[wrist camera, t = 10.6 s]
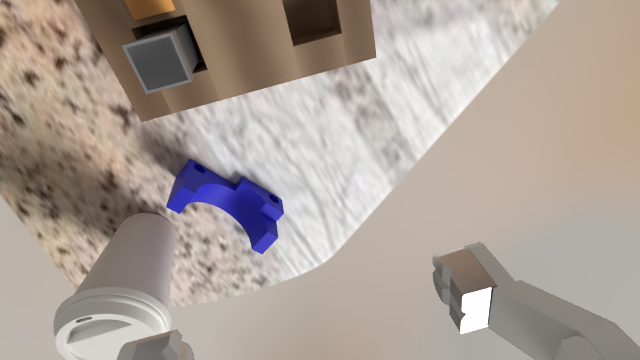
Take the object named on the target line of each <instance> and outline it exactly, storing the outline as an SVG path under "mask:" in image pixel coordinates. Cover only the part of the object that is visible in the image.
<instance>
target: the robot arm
mask: <svg viewBox="0 0 640 360" xmlns="http://www.w3.org/2000/svg"><path fill="white" fill-rule="evenodd" d="M433 265H434V267H435V268H436V269H435V271H434V272H433V281H434V285H435V289H436V291H437V293H438V295H439V297H440V299H441V301H442V302H443V303H445V304H447V305H448V306H450V316H451V318H452V319H453V321H454V323H455V324H456V326H457V328H458V329H459V331H460V333H464V332H468V331H472V330H476V329H480V328H483V327H486V326H488V328H489V329H491V330H492V331H494V332H495V333H496V334H498V335H499V336H501V337H502V338H504V339H505V340H507V341H508V342H510V343H511V344H512V345H514V346H515V347H517V348H518V349H520V350H521V351H523V352H524V353H526V354H527V355H529V356H530V357H531V358H533V359H534V360H640V347H639V346H638V345H637V344H636V343H635V342H634V341H633V340H632V339H631V338H630V337H629V336H627V334H626V333H624V331H623V330H622V329H620V328H619V327H618V326H617V325H616V324H615V323H614V322H612V321H609V320H607V319H605V318H603V317H601V316H599V315H596V314H594V313H592V312H590V311H588V310H585V309H583V308H581V307H579V306H577V305H574V304H572V303H570V302H568V301H566V300H563V299H561V298H559V297H557V296H555V295H552V294H550V293H548V292H546V291H543V290H541V289H539V288H537V287H535V286H532V285H530V284H528V283H526V282H524V281H521V280H519V281H515V280H514V279H513V278H512V276H511V275H510V274H509V273H508V272H507V271H506V269H505V268H504V267H503V266H502V265H501V264H500V263H499V261H498V260H497V259H496V258H495V257H494V256H493V254H492V253H491V252H490V251H489V250H488V249H487V248H486V246H485V245H484V244H483V243H481V242H478V243H474V244H471V245H468V246H464V247H460V248H456V249H453V250H450V251H446V252H443V253H439V254H436V255H434V256H433ZM181 339H182V335H181V334H180V333H179V331H178V330H173V331H169V332H165V333H161V334H157V335H154V336H150V337H146V338H142V339H138V340H135V341H131V342H127V343H124V345H123V346H122V347H121V349H120V351H119V354H118V357H117V360H194V354H193V351H192V348H191V347H190V345H189V344H188V343H185V342H182V341H181Z"/></svg>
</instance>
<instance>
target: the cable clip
mask: <svg viewBox="0 0 640 360" xmlns="http://www.w3.org/2000/svg"><path fill="white" fill-rule="evenodd" d="M193 202H204V203H209V204H212V205H215V206H217V207H219V208H221V209H223V210H224V211H226V212H227V213H229V214H230V215H231V216H233V217H234V218H235V219H236V220H237V221H238V222H239V223H240V224H241V226H242V227H243V228H244V230H245V231H246V233H247V235H248V237H249V239H250V242H251V247H252V249H253V250H255V251H257V252H259V253H261V254H263V253H264V252H265V251H266V250H267V249H268V248H269V247H270V246H271V245H272V244H273V243H274V241H275V240H276V239H277V238H278V232H277V224H276V221H277V220H278V219H279V218H280V217H281V216H282V215H283V214H284V211H283V204H282V200H281V199H279V198H278V197H276V196H275V195H273V194H271V193H270V192H268V191H266V190H265V189H263V188H261V187H260V186H258V185H256V184H255V183H253V182H251V181H250V180H248V179H246V178H245V177H242V178H241V179H240V180H239V181H238V182H237V184H236V185H234V184H233V183H231V182H229V181H228V180H226V179H224V178H222V177H221V176H219V175H217V174H216V173H214V172H212V171H210V170H209V169H207V168H205V167H204V166H202V165H200V164H198V163H197V162H195V161H193V160H192V159H190V160H189V161H188V162H187V164H186V165H185V166H184V168H183V169H182V170H181V172H180V173H179V174H178V175H177V177H176V179H175V182H174V185H173V188H172V191H171V194H170V197H169V200H168V203H167V205H166V207H167V208H169V209H171V210H173V211H175V212H177V213H179V214H180V213H181V212H182V210H183V209H184V208H185V207H186V205H187V204H189V203H193Z"/></svg>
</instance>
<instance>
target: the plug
mask: <svg viewBox="0 0 640 360" xmlns="http://www.w3.org/2000/svg"><path fill="white" fill-rule="evenodd" d="M122 48H123V50H124V52H125V54H126V56H127V57H128V59H129V61H130V63H131V65H132V67H133V69H134V71H135V73H136V75H137V77H138V79H139V81H140V83H141V85H142V87H143V89H144V91H145V92H146V94H149V93H153V92H156V91H160V90H164V89H167V88H171V87H175V86H178V85H182V84H186V83H189V82H193V79H194V75H193V73H192V72H193V70H194V68H195V66H196V65H197V63H198V61H199V59H200V57H201V55H202V54H201V51H200V49H199V46H198V44H197V41H196V39H195V36H194V33H193V31H192V28H191V26H190V23H189V21H184V22H181V23H177V24H173V25H169V26H166V27H162V28H158V29H155V30H153V31H152V32H150V33H149V34H147V35H146V36H144V37H142V38H141V39H138V40H135V41H131V42H127V43H125V44H124V45H122Z"/></svg>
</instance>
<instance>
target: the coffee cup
mask: <svg viewBox="0 0 640 360" xmlns="http://www.w3.org/2000/svg"><path fill="white" fill-rule="evenodd" d="M175 242H176V230H175V228H174V226H173V225H172V223H171V222H170V221H169V220H167V219H166V218H164V217H162V216H160V215H157V214H154V213H137V214H134V215H131V216H129V217H127V218H126V219H125V220H124V221H123V222H122V223H121V225H120V226H119V228H118V229H117V231H116V232H115V234H114V235H113V237H112V238H111V240H110V241H109V243H108V245H107V246H106V248H105V249H104V251H103V252H102V254H101V255H100V257H99V258H98V260H97V261H96V263H95V264H94V266H93V267H92V269H91V270H90V272H89V273H88V275H87V276H86V278H85V279H84V281H83V282H82V284H81V285H80V287H79V288H78V289H77V291H76V292H75V294H74V295H73V296H71V297H69V298H68V299H66V300H65V301H64V302H63V303H62V304H61V305H60V306H59V308H58V309H57V311H56V314H55V319H54V335H55V345H56V348H57V350H58V352H59V353H60V354H61V355H62V356H63V357H64V358H65V359H66V360H117V357H118V354H119V351H120V349H121V347H122V346H123V345H124V343H127V342H131V341H135V340H138V339H142V338H146V337H150V336H154V335H157V334H161V333H165V332H169V329H170V325H171V318H170V314H169V312H168V310H167V309H168V300H169V292H170V283H171V275H172V266H173V258H174V250H175Z"/></svg>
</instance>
